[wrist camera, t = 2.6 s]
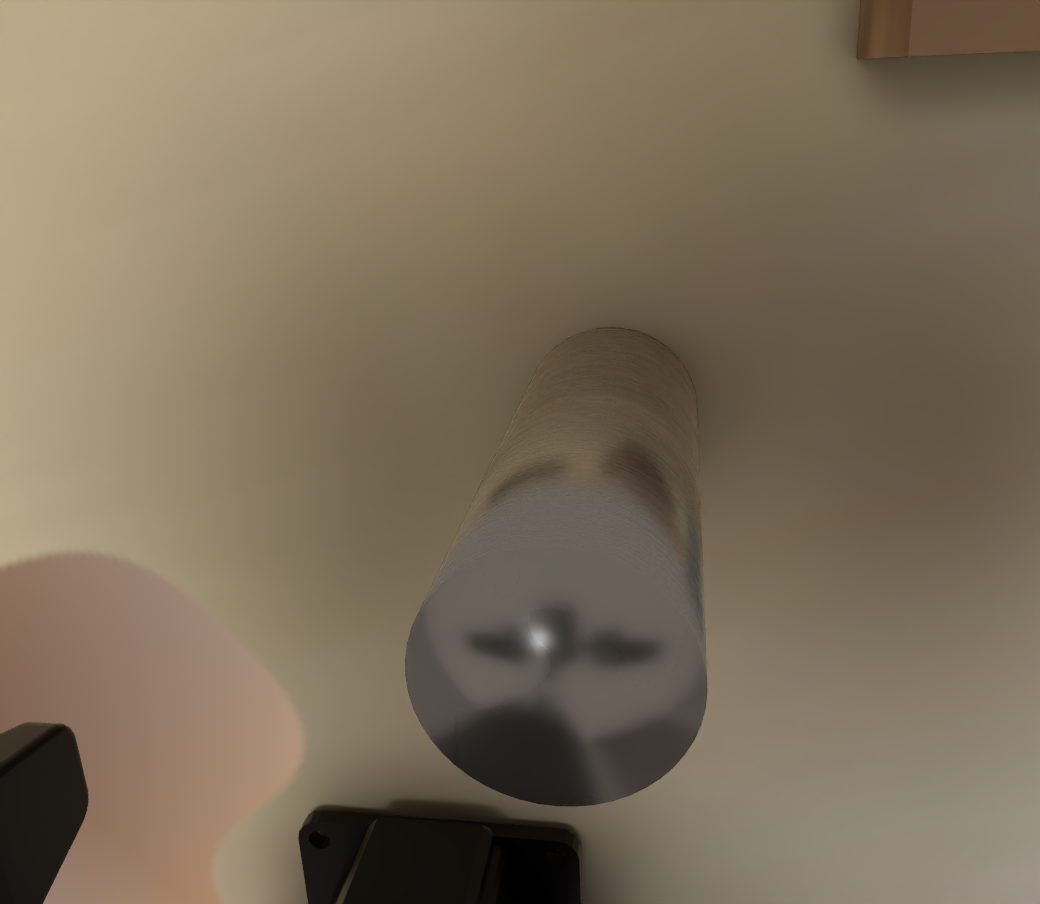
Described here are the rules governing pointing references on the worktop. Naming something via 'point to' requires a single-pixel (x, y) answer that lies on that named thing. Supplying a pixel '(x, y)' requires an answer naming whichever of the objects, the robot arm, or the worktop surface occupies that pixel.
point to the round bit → (575, 586)
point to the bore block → (947, 27)
